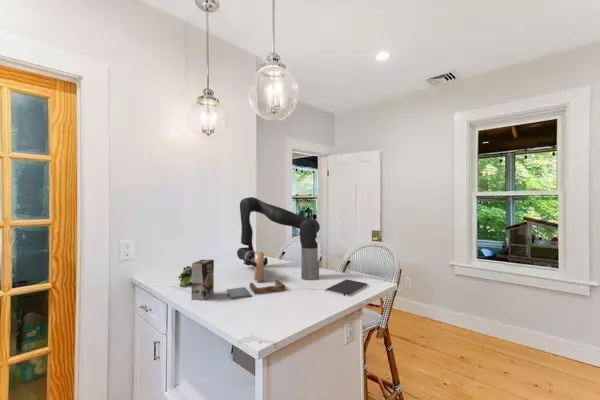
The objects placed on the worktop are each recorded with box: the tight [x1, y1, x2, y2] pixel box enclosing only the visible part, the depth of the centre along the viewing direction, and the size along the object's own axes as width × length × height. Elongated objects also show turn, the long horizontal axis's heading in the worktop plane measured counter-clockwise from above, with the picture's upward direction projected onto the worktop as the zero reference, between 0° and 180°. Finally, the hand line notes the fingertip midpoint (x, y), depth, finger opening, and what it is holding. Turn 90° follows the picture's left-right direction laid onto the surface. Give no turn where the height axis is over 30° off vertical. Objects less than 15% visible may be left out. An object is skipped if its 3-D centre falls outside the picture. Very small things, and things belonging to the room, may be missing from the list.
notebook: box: [325, 279, 368, 297], centre depth 144 cm, size 13×2×21 cm
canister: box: [254, 252, 265, 281], centre depth 155 cm, size 5×5×14 cm
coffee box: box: [191, 259, 215, 301], centre depth 131 cm, size 9×6×16 cm
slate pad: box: [225, 286, 252, 300], centre depth 135 cm, size 9×12×1 cm
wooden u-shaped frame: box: [249, 279, 286, 295], centre depth 142 cm, size 15×10×2 cm
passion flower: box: [177, 265, 192, 288], centre depth 150 cm, size 11×11×12 cm
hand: (260, 264), depth 153 cm, fingers closed on canister, 5 cm apart
